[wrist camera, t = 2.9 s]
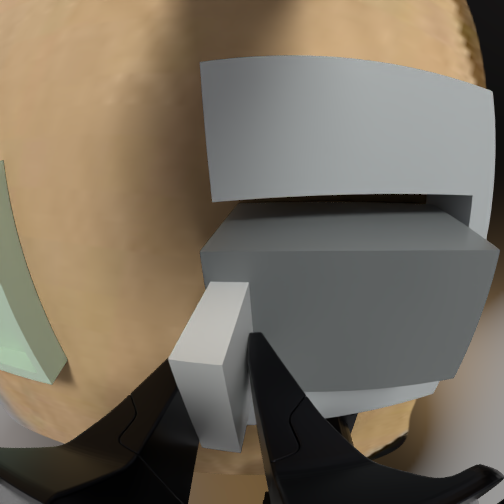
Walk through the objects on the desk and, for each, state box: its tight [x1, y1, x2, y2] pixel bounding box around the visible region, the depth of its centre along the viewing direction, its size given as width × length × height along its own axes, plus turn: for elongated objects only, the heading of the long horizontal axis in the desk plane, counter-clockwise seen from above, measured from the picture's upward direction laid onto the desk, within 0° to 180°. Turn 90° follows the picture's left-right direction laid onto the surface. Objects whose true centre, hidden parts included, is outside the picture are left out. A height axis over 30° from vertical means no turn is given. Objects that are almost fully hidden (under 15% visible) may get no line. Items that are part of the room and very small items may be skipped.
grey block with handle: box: [168, 202, 500, 453], centre depth 10 cm, size 6×10×10 cm, turn 94°
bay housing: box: [200, 55, 495, 425], centre depth 13 cm, size 18×12×4 cm
